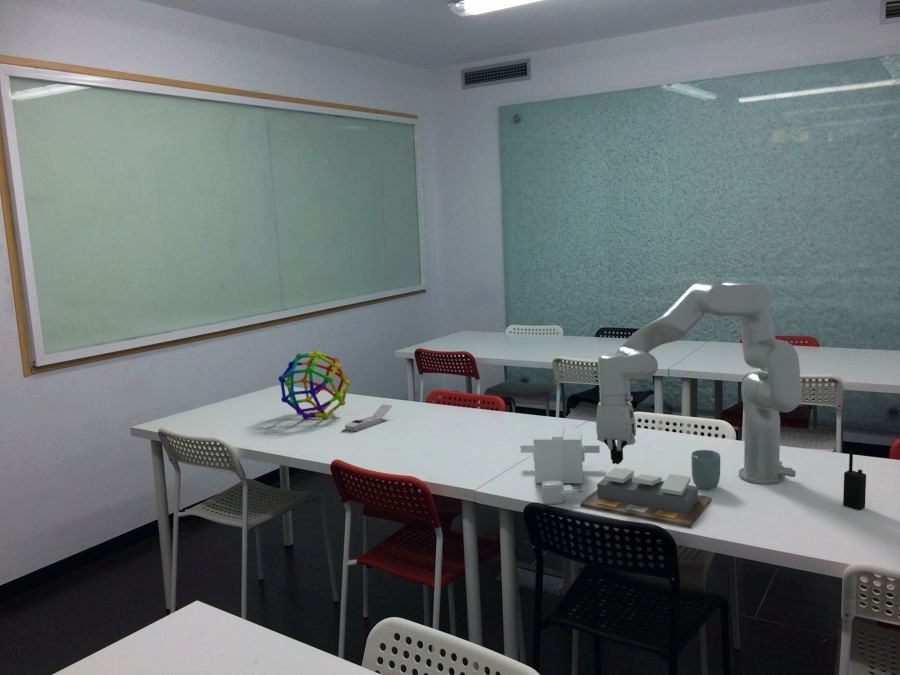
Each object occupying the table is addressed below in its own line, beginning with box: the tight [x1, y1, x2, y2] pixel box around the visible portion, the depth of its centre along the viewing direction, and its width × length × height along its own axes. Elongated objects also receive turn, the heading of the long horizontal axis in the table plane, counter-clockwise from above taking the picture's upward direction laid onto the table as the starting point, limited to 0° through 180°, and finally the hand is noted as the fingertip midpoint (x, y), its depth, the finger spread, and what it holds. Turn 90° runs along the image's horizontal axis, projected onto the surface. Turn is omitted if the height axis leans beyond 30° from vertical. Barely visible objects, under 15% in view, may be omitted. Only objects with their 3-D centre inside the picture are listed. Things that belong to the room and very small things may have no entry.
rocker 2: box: [632, 473, 663, 485], centre depth 197 cm, size 6×8×1 cm
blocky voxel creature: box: [520, 426, 601, 485], centre depth 225 cm, size 15×25×28 cm
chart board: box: [579, 489, 713, 529], centre depth 197 cm, size 30×20×1 cm, turn 55°
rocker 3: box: [660, 473, 691, 496], centre depth 192 cm, size 6×8×1 cm
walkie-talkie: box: [842, 450, 867, 511], centre depth 186 cm, size 5×3×15 cm
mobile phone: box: [341, 404, 393, 433], centre depth 290 cm, size 6×6×25 cm
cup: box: [691, 449, 721, 491], centre depth 205 cm, size 8×8×10 cm
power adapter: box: [541, 481, 584, 505], centre depth 201 cm, size 11×5×6 cm, turn 90°
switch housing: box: [596, 475, 699, 514], centre depth 197 cm, size 25×10×5 cm, turn 55°
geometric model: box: [278, 349, 351, 420], centre depth 304 cm, size 30×30×30 cm
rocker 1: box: [603, 467, 635, 483], centre depth 201 cm, size 6×8×1 cm
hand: (617, 462), depth 198 cm, fingers closed
